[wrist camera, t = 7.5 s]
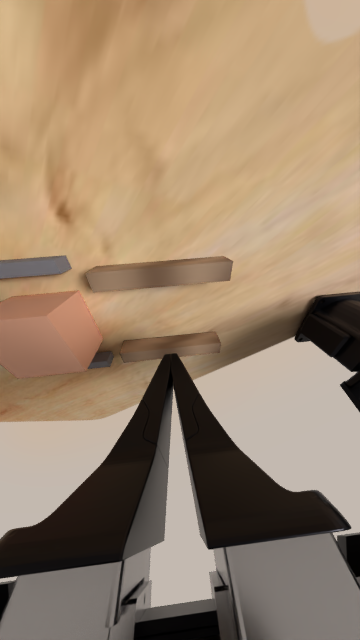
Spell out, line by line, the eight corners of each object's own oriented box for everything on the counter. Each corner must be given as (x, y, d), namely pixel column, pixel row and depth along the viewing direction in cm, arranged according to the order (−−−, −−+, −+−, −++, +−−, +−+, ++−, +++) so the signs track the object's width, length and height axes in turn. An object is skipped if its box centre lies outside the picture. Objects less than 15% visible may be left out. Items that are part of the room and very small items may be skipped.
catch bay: (65, 255, 11) (53, 259, 10) (113, 356, 18) (110, 366, 17) (-54, 264, 11) (-81, 270, 10) (41, 364, 18) (32, 374, 17)
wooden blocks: (223, 256, 12) (232, 261, 11) (214, 340, 18) (219, 352, 16) (95, 266, 12) (84, 273, 10) (127, 349, 18) (123, 362, 16)
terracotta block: (80, 289, 13) (46, 315, 9) (103, 338, 17) (86, 371, 13) (13, 295, 13) (-48, 325, 9) (51, 343, 16) (17, 378, 13)
